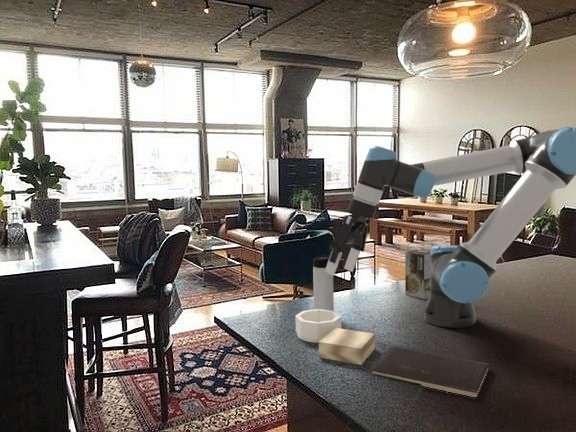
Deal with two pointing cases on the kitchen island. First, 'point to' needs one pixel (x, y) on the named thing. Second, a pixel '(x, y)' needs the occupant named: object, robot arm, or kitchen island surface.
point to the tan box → (347, 345)
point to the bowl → (316, 324)
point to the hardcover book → (433, 370)
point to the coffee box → (417, 273)
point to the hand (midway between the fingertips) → (339, 271)
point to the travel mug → (322, 284)
